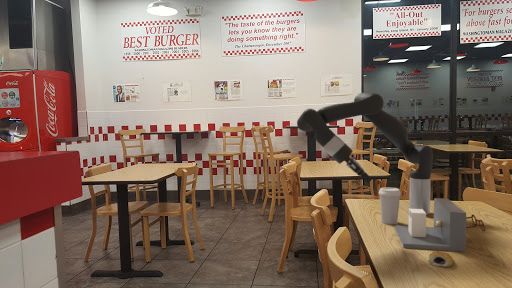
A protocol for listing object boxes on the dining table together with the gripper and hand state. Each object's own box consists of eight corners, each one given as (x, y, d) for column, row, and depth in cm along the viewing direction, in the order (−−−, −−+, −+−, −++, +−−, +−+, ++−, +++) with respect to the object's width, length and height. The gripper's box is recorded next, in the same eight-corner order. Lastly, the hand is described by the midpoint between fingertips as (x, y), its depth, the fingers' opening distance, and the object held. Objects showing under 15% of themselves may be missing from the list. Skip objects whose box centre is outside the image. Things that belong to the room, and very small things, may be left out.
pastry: (432, 255, 125) (432, 244, 125) (454, 260, 122) (455, 248, 121) (427, 265, 117) (427, 253, 117) (451, 269, 114) (452, 257, 113)
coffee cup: (400, 220, 169) (400, 187, 168) (401, 226, 160) (401, 191, 159) (378, 218, 172) (378, 186, 171) (378, 224, 163) (378, 190, 162)
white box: (407, 231, 147) (408, 208, 146) (422, 231, 146) (422, 209, 145) (410, 236, 140) (411, 212, 140) (425, 237, 139) (426, 213, 138)
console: (394, 228, 156) (395, 196, 155) (446, 231, 151) (447, 198, 151) (403, 247, 133) (403, 210, 132) (465, 251, 128) (466, 212, 127)
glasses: (485, 233, 150) (486, 221, 149) (450, 232, 152) (450, 220, 152) (473, 224, 163) (473, 213, 162) (441, 223, 165) (441, 212, 165)
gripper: (344, 143, 140) (378, 176, 138) (344, 141, 154) (375, 171, 152) (330, 157, 142) (363, 190, 140) (331, 154, 155) (361, 184, 153)
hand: (369, 180), depth 146 cm, fingers closed
